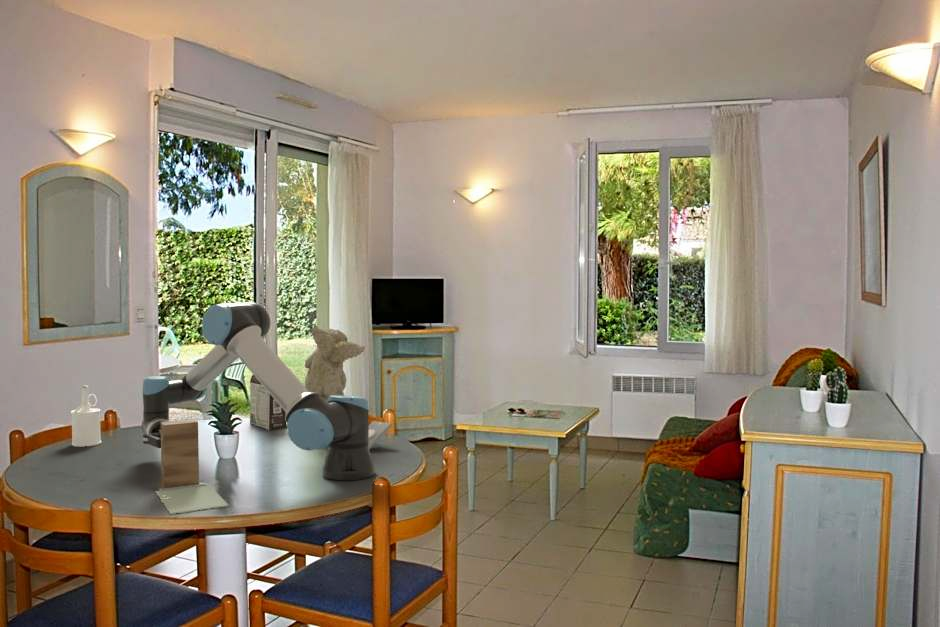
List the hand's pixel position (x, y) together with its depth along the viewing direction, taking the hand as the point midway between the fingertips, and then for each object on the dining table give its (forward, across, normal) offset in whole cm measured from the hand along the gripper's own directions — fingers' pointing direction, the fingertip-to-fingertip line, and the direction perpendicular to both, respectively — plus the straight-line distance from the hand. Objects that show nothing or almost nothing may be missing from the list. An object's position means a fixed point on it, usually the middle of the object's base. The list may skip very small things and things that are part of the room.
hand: (176, 447), depth 229 cm
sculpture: (-45, -63, -10) cm, 78 cm away
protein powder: (-70, -46, -11) cm, 84 cm away
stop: (+6, 0, -10) cm, 12 cm away
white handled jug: (-68, +18, -10) cm, 71 cm away
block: (+3, 0, -10) cm, 11 cm away
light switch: (-17, -65, -11) cm, 68 cm away
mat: (+17, 0, -10) cm, 20 cm away
